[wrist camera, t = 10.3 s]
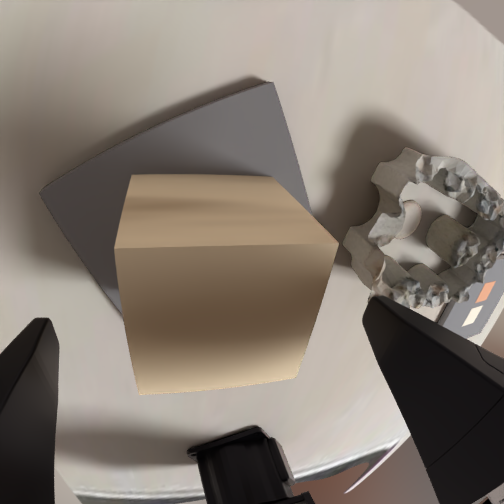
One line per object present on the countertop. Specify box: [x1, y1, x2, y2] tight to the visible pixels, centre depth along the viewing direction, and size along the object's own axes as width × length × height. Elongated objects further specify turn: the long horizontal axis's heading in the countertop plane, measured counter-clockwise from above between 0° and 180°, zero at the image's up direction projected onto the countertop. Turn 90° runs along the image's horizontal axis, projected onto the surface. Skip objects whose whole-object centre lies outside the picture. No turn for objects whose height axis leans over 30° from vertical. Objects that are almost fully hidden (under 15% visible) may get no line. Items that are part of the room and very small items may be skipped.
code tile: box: [437, 255, 504, 339], centre depth 22 cm, size 9×9×1 cm
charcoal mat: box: [39, 82, 312, 315], centre depth 12 cm, size 9×9×1 cm
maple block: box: [114, 174, 339, 395], centre depth 10 cm, size 5×5×5 cm
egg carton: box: [342, 147, 504, 309], centre depth 14 cm, size 11×8×4 cm
